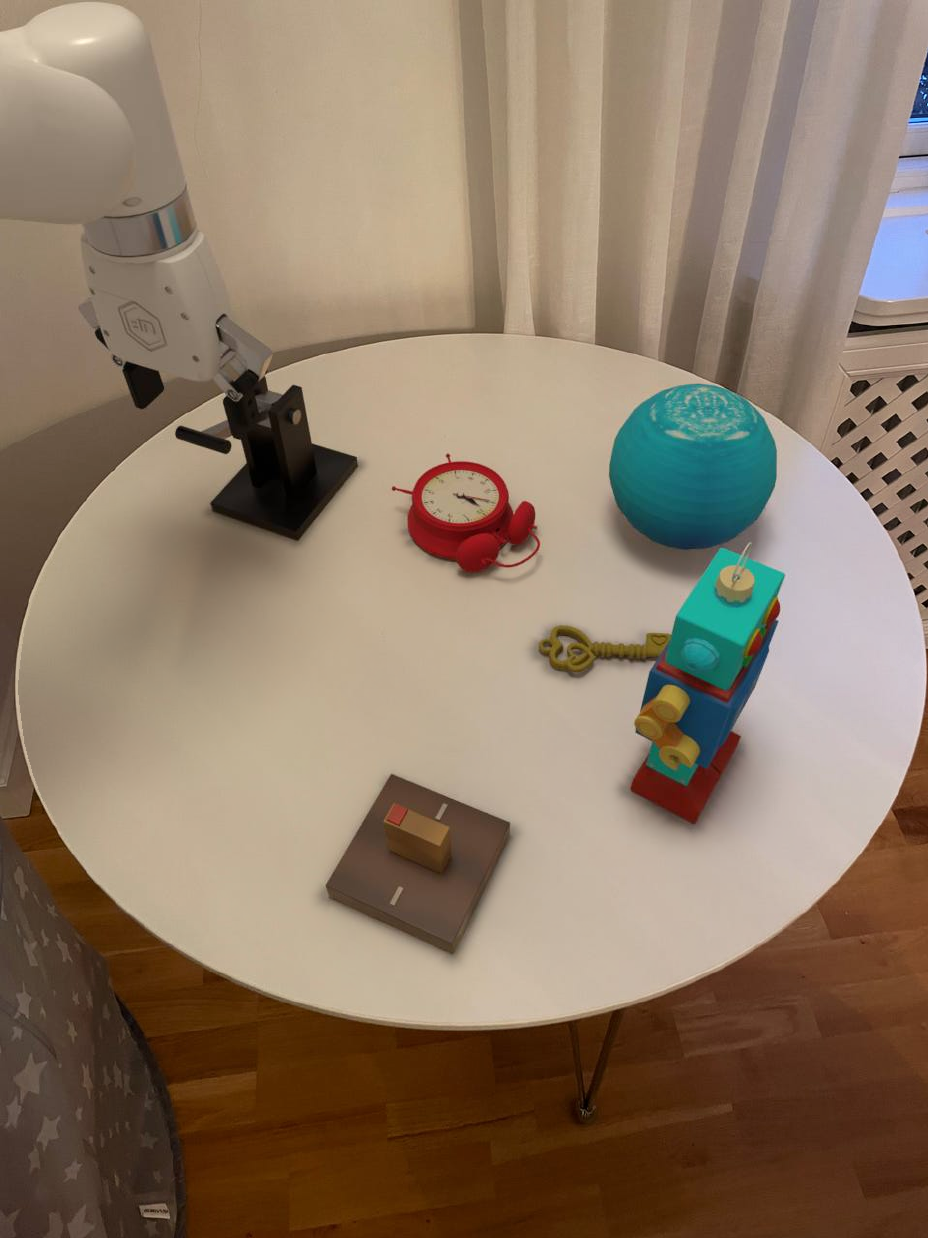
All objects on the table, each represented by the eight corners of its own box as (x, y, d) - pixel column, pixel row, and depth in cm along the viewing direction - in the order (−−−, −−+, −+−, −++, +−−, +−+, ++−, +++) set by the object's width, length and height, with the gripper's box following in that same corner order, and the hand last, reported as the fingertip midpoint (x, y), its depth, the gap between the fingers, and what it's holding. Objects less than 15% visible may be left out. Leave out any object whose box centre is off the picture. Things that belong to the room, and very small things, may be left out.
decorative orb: (603, 580, 87) (622, 456, 75) (598, 472, 96) (614, 347, 85) (767, 586, 86) (811, 461, 74) (745, 477, 96) (782, 351, 84)
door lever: (223, 462, 79) (223, 436, 78) (175, 447, 81) (174, 420, 79) (300, 423, 89) (301, 399, 88) (255, 410, 90) (256, 386, 89)
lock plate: (453, 955, 65) (452, 943, 63) (328, 897, 68) (324, 884, 66) (509, 834, 71) (510, 821, 69) (393, 786, 73) (391, 772, 72)
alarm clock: (455, 439, 94) (563, 486, 85) (465, 491, 98) (569, 541, 89) (375, 488, 90) (479, 543, 80) (389, 540, 94) (490, 598, 84)
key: (676, 628, 81) (679, 675, 78) (674, 637, 82) (677, 684, 79) (540, 621, 82) (537, 667, 79) (539, 630, 83) (537, 675, 80)
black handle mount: (297, 540, 91) (277, 446, 82) (212, 511, 93) (183, 416, 84) (358, 465, 97) (345, 370, 88) (276, 440, 100) (256, 345, 91)
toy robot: (685, 842, 70) (763, 635, 51) (612, 803, 72) (661, 590, 53) (744, 732, 76) (834, 510, 57) (676, 699, 78) (740, 474, 59)
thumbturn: (451, 855, 67) (450, 825, 64) (442, 874, 66) (439, 844, 63) (398, 832, 69) (393, 800, 65) (387, 850, 68) (382, 819, 64)
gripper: (4, 217, 65) (86, 413, 78) (210, 269, 60) (261, 470, 73) (75, 169, 69) (142, 364, 82) (273, 215, 64) (310, 414, 78)
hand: (198, 413), depth 78 cm, fingers open, 9 cm apart
